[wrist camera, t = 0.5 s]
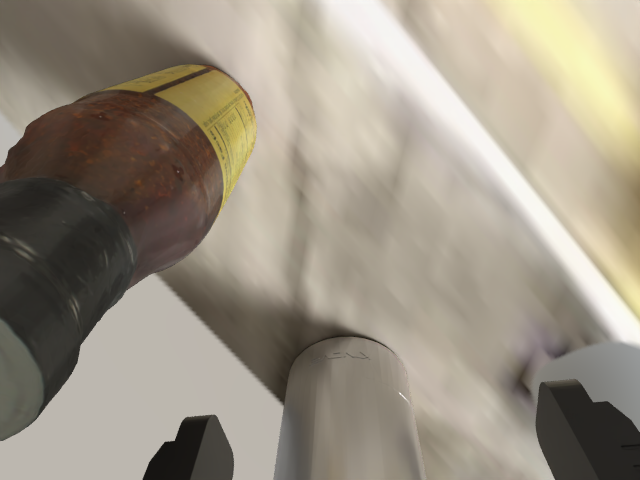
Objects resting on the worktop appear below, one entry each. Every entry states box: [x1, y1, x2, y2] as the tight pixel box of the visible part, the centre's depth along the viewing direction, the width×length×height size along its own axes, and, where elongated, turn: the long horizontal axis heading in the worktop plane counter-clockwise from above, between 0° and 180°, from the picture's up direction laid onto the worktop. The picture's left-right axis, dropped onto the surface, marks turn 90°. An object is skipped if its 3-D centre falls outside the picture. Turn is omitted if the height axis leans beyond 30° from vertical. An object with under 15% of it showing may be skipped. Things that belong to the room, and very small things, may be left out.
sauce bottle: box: [0, 64, 257, 441], centre depth 16 cm, size 7×6×20 cm
